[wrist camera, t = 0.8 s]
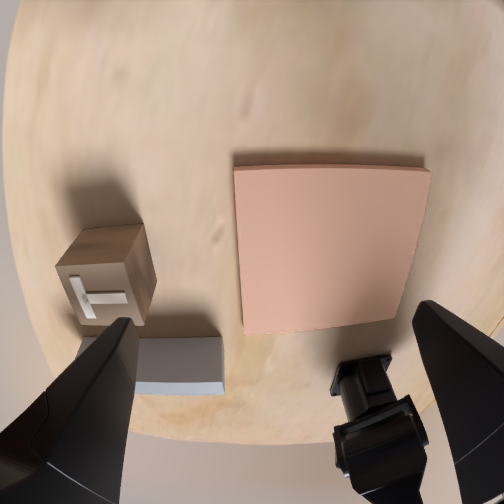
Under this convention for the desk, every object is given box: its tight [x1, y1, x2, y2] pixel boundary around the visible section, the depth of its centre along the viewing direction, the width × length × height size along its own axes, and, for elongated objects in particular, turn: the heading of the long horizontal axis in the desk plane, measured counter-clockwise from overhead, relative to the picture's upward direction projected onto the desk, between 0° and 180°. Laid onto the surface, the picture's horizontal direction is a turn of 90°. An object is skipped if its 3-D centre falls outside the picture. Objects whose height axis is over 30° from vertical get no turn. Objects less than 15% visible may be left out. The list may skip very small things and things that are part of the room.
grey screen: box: [75, 336, 225, 395], centre depth 24 cm, size 2×14×5 cm, turn 92°
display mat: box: [234, 164, 432, 336], centre depth 22 cm, size 14×14×1 cm
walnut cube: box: [55, 223, 157, 326], centre depth 19 cm, size 5×5×5 cm
